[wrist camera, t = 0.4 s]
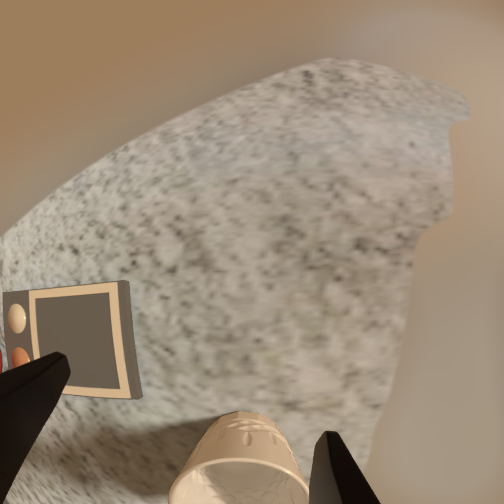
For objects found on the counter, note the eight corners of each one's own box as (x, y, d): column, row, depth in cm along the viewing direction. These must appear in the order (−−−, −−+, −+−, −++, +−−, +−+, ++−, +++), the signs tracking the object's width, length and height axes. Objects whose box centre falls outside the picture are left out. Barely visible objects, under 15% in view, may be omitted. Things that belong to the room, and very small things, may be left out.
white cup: (272, 488, 20) (281, 559, 10) (187, 464, 20) (156, 529, 10) (304, 418, 21) (336, 474, 11) (213, 391, 22) (187, 437, 12)
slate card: (142, 396, 22) (138, 399, 20) (17, 384, 21) (10, 385, 20) (129, 281, 24) (123, 279, 23) (8, 293, 23) (1, 292, 22)
